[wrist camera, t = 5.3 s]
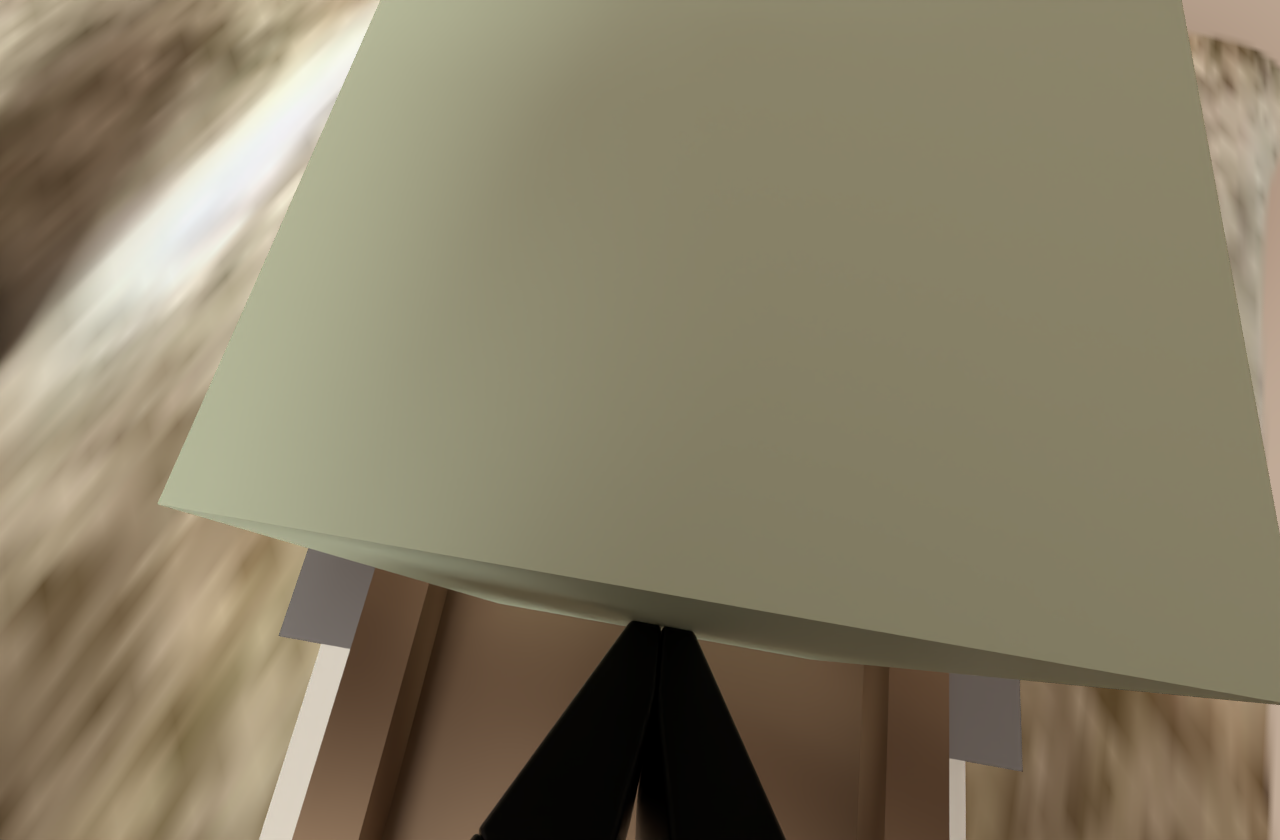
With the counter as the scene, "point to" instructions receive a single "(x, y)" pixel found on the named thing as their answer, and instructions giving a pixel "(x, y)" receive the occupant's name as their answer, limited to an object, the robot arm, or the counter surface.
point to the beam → (547, 683)
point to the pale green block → (773, 336)
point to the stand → (331, 618)
